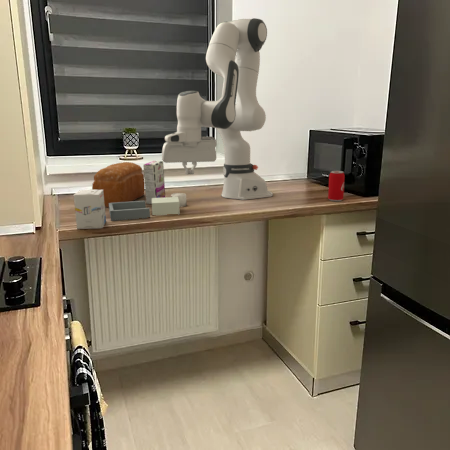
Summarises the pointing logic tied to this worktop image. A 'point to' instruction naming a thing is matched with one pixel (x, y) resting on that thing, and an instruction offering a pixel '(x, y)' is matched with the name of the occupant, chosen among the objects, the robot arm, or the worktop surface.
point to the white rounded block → (180, 198)
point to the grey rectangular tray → (128, 210)
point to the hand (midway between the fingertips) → (189, 174)
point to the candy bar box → (154, 180)
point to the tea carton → (165, 206)
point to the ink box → (89, 209)
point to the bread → (120, 182)
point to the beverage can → (336, 186)
